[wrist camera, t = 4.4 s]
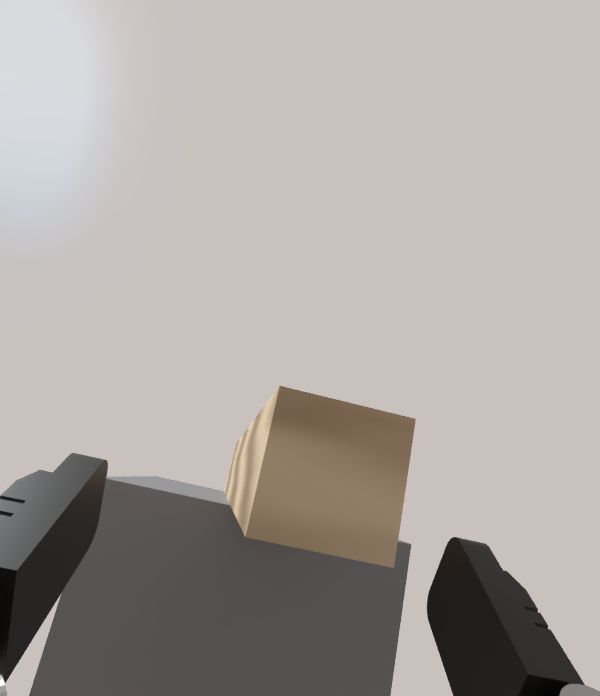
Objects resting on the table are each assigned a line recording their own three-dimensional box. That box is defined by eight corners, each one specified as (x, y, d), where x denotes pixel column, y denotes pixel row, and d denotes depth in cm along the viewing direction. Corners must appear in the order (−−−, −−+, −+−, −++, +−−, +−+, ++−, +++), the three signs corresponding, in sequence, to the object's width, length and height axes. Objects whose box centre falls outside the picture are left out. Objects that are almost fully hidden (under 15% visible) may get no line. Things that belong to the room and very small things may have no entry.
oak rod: (394, 567, 10) (415, 419, 10) (245, 536, 9) (279, 385, 10) (270, 502, 31) (281, 454, 31) (223, 492, 30) (235, 444, 31)
